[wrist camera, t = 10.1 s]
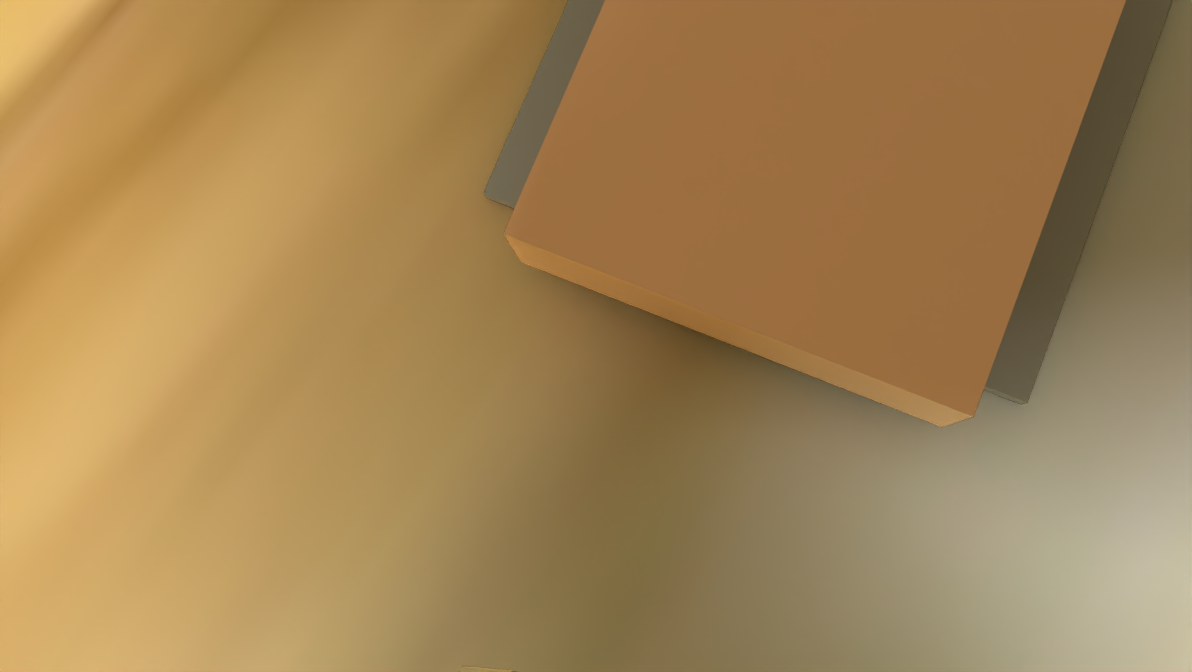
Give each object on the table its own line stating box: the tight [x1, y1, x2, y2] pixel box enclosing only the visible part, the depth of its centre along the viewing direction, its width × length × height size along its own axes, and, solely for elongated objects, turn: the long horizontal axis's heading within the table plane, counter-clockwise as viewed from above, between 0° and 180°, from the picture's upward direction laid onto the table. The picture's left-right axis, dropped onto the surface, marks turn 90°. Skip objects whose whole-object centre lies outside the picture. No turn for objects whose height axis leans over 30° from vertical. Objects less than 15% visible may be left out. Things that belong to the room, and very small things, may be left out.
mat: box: [484, 0, 1172, 404], centre depth 25 cm, size 12×13×1 cm
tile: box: [504, 0, 1126, 427], centre depth 23 cm, size 10×2×12 cm
